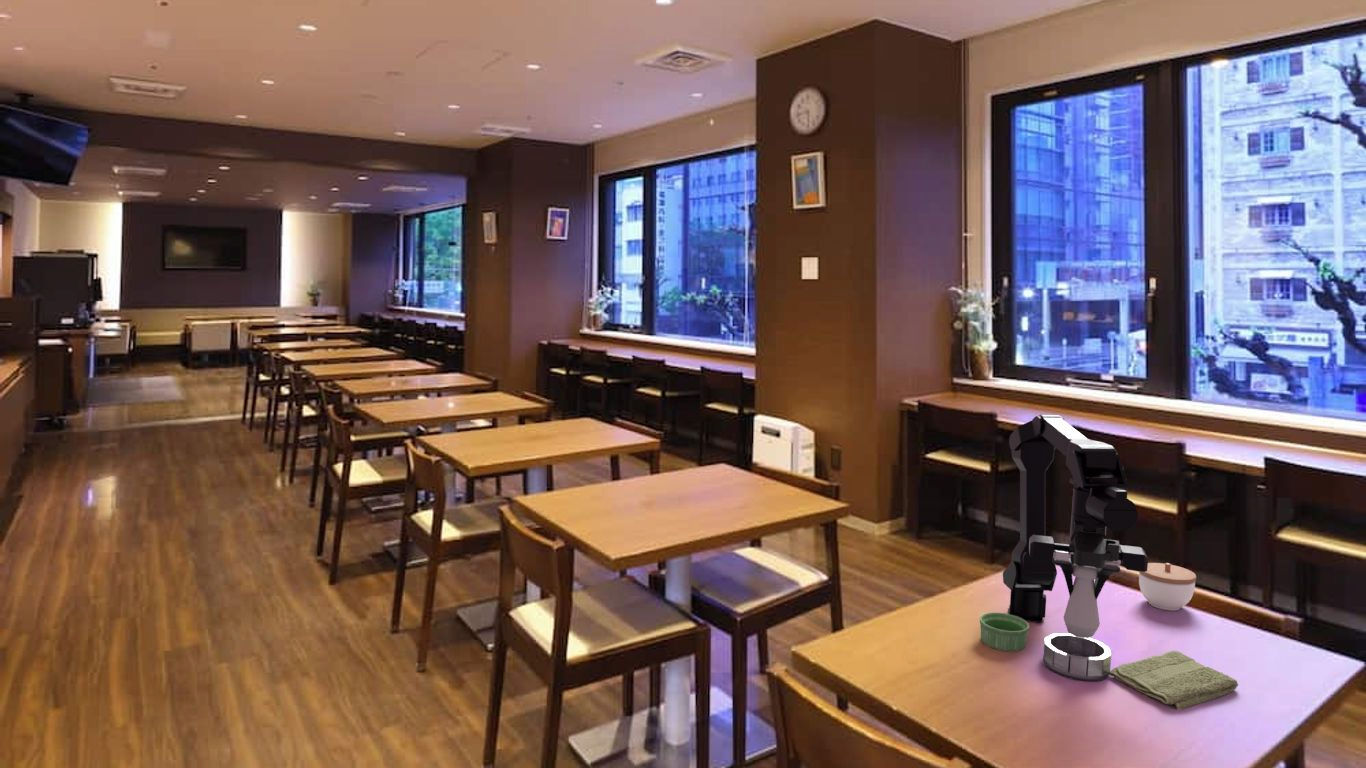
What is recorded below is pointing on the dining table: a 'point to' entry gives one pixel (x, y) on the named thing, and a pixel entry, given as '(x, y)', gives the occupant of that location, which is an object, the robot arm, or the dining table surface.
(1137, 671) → the washcloth
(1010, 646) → the ramekin
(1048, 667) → the faceted metal bowl
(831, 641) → the dining table surface
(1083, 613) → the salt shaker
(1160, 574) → the lidded jar
